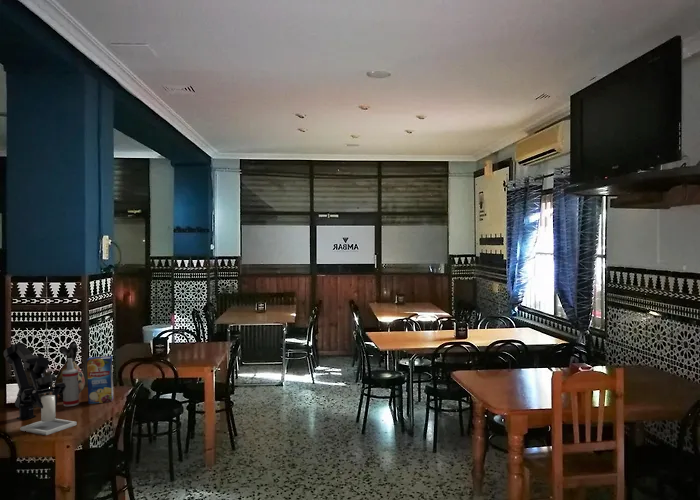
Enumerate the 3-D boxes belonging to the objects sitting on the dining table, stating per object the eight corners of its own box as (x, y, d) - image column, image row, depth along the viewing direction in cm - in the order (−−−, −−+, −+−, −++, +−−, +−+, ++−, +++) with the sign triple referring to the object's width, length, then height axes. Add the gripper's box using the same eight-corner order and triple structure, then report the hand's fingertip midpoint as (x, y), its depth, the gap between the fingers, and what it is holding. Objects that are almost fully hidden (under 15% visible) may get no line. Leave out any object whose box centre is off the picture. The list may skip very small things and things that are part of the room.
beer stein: (17, 409, 312) (19, 371, 312) (23, 404, 322) (24, 367, 322) (49, 408, 316) (51, 371, 316) (54, 403, 326) (55, 367, 327)
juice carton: (88, 403, 320) (86, 359, 320) (90, 400, 327) (89, 357, 327) (111, 401, 323) (110, 358, 323) (113, 398, 330) (112, 355, 330)
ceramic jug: (77, 400, 327) (75, 346, 327) (49, 401, 327) (48, 347, 327) (91, 393, 344) (89, 341, 344) (65, 393, 344) (63, 342, 344)
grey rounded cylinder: (40, 419, 280) (40, 396, 279) (55, 417, 283) (54, 394, 282) (41, 422, 274) (41, 398, 274) (56, 420, 278) (55, 396, 277)
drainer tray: (20, 430, 275) (20, 427, 275) (51, 420, 290) (51, 417, 290) (46, 435, 267) (46, 431, 267) (76, 425, 282) (76, 421, 282)
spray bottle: (60, 405, 319) (59, 358, 318) (73, 401, 325) (72, 356, 325) (68, 407, 314) (67, 360, 314) (81, 403, 321) (80, 357, 320)
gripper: (22, 372, 274) (32, 400, 267) (63, 365, 288) (74, 392, 281) (16, 387, 279) (26, 414, 272) (57, 379, 293) (67, 405, 286)
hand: (49, 406), depth 278 cm, fingers closed on grey rounded cylinder, 6 cm apart
